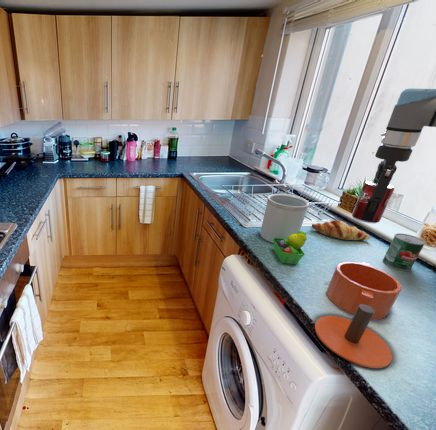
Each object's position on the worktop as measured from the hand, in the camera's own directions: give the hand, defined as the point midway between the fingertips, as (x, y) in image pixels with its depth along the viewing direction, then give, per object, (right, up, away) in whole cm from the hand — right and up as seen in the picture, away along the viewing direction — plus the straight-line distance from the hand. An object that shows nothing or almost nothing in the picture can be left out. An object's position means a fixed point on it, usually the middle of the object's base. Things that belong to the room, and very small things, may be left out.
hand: (366, 216), depth 93 cm
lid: (-22, -32, -21) cm, 44 cm away
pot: (-9, -26, -6) cm, 28 cm away
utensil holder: (-13, -9, +29) cm, 33 cm away
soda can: (0, -1, +1) cm, 1 cm away
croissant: (+16, -9, +32) cm, 36 cm away
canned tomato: (+22, -18, +12) cm, 31 cm away
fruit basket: (-17, -16, +15) cm, 28 cm away
